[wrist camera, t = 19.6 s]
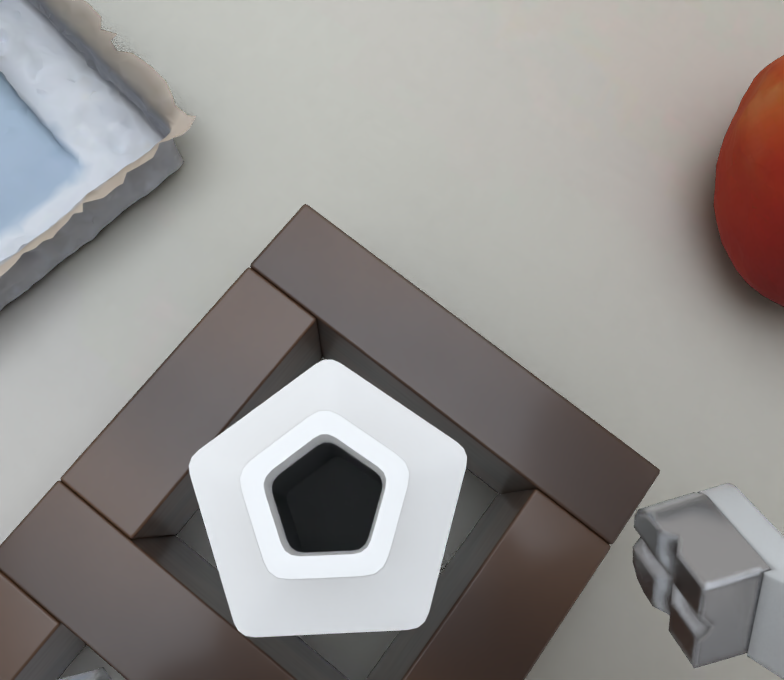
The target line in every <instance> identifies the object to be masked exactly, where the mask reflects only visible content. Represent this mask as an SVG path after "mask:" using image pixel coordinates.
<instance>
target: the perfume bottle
mask: <svg viewBox="0 0 784 680" xmlns="http://www.w3.org/2000/svg"><path fill="white" fill-rule="evenodd" d="M466 464H467V455H466V453H465V450H464V448H463V447H462V446H461V445H460V444H459V443H458V442H456V441H455V440H453V439H452V438H450V437H449V436H447V435H446V434H444V433H443V432H441V431H440V430H439V429H437V428H436V427H434V426H433V425H431V424H430V423H428V422H427V421H425V420H424V419H422V418H421V417H419V416H418V415H416V414H415V413H413V412H412V411H410V410H409V409H408V408H406V407H405V406H403V405H402V404H400V403H399V402H397V401H396V400H394V399H393V398H391V397H390V396H388V395H387V394H385V393H384V392H382V391H381V390H379V389H378V388H377V387H375V386H374V385H372V384H371V383H369V382H368V381H366V380H365V379H363V378H362V377H360V376H359V375H357V374H356V373H354V372H353V371H351V370H350V369H348V368H347V367H346V366H344V365H343V364H341V363H339V362H337V361H335V360H322V361H320V362H318V363H316V364H315V365H314V366H312V367H311V368H309V369H308V370H307V371H305V372H304V373H303V374H301V375H300V376H299V377H297V378H296V379H294V380H293V381H292V382H290V383H289V384H288V385H286V386H285V387H284V388H282V389H281V390H280V391H278V392H277V393H275V394H274V395H273V396H271V397H270V398H269V399H267V400H266V401H265V402H263V403H262V404H261V405H259V406H258V407H256V408H255V409H254V410H252V411H251V412H250V413H248V414H247V415H246V416H244V417H243V418H241V419H240V420H239V421H237V422H236V423H235V424H233V425H232V426H231V427H229V428H228V429H227V430H225V431H224V432H222V433H221V434H220V435H218V436H217V437H216V438H214V439H213V440H212V441H210V442H209V443H207V444H206V445H205V446H203V447H202V448H201V449H199V450H198V451H197V452H196V453H195V454H194V455H193V456H192V458H191V461H190V463H189V472H190V477H191V481H192V484H193V487H194V491H195V494H196V497H197V501H198V504H199V508H200V511H201V514H202V518H203V521H204V524H205V528H206V531H207V534H208V538H209V541H210V545H211V548H212V551H213V555H214V558H215V561H216V565H217V568H218V571H219V575H220V578H221V581H222V585H223V588H224V592H225V595H226V598H227V602H228V605H229V608H230V612H231V615H232V618H233V622H234V624H235V626H236V628H237V630H238V631H239V632H241V633H242V634H243V635H245V636H250V637H272V636H293V635H313V634H334V633H355V632H376V631H396V630H410V629H414V628H418V627H419V626H420V625H422V624H423V623H424V622H425V620H426V618H427V616H428V614H429V611H430V607H431V603H432V599H433V595H434V591H435V587H436V583H437V579H438V575H439V571H440V567H441V563H442V560H443V556H444V552H445V548H446V544H447V540H448V536H449V532H450V528H451V524H452V520H453V516H454V512H455V509H456V505H457V501H458V497H459V493H460V489H461V485H462V481H463V477H464V473H465V469H466Z"/></svg>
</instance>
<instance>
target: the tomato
mask: <svg viewBox="0 0 784 680" xmlns="http://www.w3.org/2000/svg"><path fill="white" fill-rule="evenodd" d="M714 210H715V216H716V221H717V226H718V230H719V234H720V238H721V242H722V244H723V246H724V248H725V250H726V252H727V254H728V256H729V258H730V259H731V261H732V263H733V265H734V267H735V269H736V270H737V272H738V273H739V274H740V275H741V276H742V278H743V279H744V280H745V281H746V282H747V283H748V284H749V285H750V286H751V287H752V288H754V289H755V290H756V291H757V292H759V293H760V294H761V295H763V296H764V297H766V298H768V299H770V300H771V301H773V302H775V303H777V304H779V305H781V306H783V307H784V55H783V56H781V57H780V58H778V59H776V60H775V61H773V62H772V63H771V64H769V65H768V66H767V67H765V68H764V69H763V70H762V71H761V72H759V74H758V75H757V76H756V77H755V78H754V79H753V81H752V83H751V85H750V86H749V88H748V90H747V92H746V93H745V95H744V96H743V98H742V100H741V102H740V105H739V107H738V110H737V112H736V114H735V116H734V117H733V119H732V121H731V124H730V126H729V128H728V130H727V132H726V135H725V137H724V140H723V143H722V146H721V149H720V153H719V157H718V161H717V165H716V179H715V193H714Z"/></svg>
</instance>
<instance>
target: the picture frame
mask: <svg viewBox="0 0 784 680" xmlns="http://www.w3.org/2000/svg"><path fill="white" fill-rule="evenodd" d="M116 35H117V34H116V33H112V32H109V31H105V30H102V29H101V16H100V15H99V14H98V13H97V12H96V11H95V9H94V8H93V7H92V6H91V5H90V4H89V3H87V2H86V1H84V0H0V310H2V308H3V307H4V306H5V305H6V304H8V303H9V302H11V301H13V300H14V299H16V298H17V297H19V296H20V295H21V294H22V293H23V292H25V291H27V290H29V288H30V287H31V286H32V285H33V284H34V283H36V282H37V281H39V280H41V279H42V278H43V277H44V276H45V275H46V274H47V273H48V272H49V271H51V270H52V269H53V268H54V267H55V266H56V265H57V264H59V263H60V262H62V261H63V260H64V259H65V258H66V257H67V256H69V255H71V254H73V253H74V252H75V251H77V250H78V249H79V248H80V247H81V246H83V245H84V244H85V243H87V242H89V241H91V240H93V239H94V238H95V236H96V235H97V234H98V233H99V232H100V231H101V229H102V228H103V227H105V226H106V225H108V224H109V223H110V222H112V221H113V220H114V219H115V218H116V217H117V216H118V215H119V214H120V213H121V212H122V211H123V210H125V209H126V208H128V207H129V206H131V205H132V204H134V203H135V202H136V201H137V200H139V199H140V198H142V197H144V196H146V195H148V194H149V193H150V192H151V191H153V190H154V189H155V188H156V187H157V186H159V185H160V184H161V183H162V182H163V181H164V180H165V179H166V178H167V177H168V176H169V175H171V174H172V173H174V172H176V171H177V170H178V169H179V168H180V167H181V165H182V164H183V162H184V161H183V158H182V156H181V155H180V153H179V151H178V149H177V147H176V145H175V142H174V140H173V138H175V137H178V136H181V135H183V134H184V133H185V132H186V131H187V130H189V129H190V127H191V125H192V123H193V121H194V119H195V118H196V116H190V115H187V114H186V113H185V112H183V111H182V110H181V109H180V108H179V107H177V106H176V105H175V102H174V98H173V95H172V93H171V91H170V89H169V86H168V84H167V82H166V80H165V79H164V78H163V77H162V76H161V75H160V74H159V73H158V72H157V71H156V70H155V69H154V68H153V67H152V66H150V65H149V64H147V63H146V62H145V61H143V60H142V59H140V58H139V57H138V56H136V55H135V54H133V53H130V52H123V51H117V49H116V48H115V46H114V45H113V43H112V41H111V40H112V39H113V38H114V37H115V36H116Z"/></svg>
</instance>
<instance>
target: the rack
mask: <svg viewBox="0 0 784 680" xmlns="http://www.w3.org/2000/svg"><path fill="white" fill-rule="evenodd" d="M250 267H251V268H247V269H246V270H245V271H244V272H243V273H242V274H241V276H240V277H239V278H238V279H237V280H236V281H235V282H234V283H233V285H232V286H231V287H230V288H229V289H228V290H227V291H226V292H225V294H224V295H223V296H222V297H221V298H220V299H219V300H218V301H217V303H216V304H215V305H214V306H213V307H212V308H211V309H210V310H209V312H208V313H207V314H206V315H205V316H204V317H203V318H202V319H201V321H200V322H199V323H198V324H197V325H196V326H195V327H194V328H193V330H192V331H191V332H190V333H189V334H188V335H187V336H186V337H185V339H184V340H183V341H182V342H181V343H180V344H179V345H178V346H177V348H176V349H175V350H174V351H173V352H172V353H171V354H170V355H169V357H168V358H167V359H166V360H165V361H164V362H163V363H162V364H161V366H160V367H159V368H158V369H157V370H156V371H155V372H154V373H153V375H152V376H151V377H150V378H149V379H148V380H147V381H146V382H145V384H144V385H143V386H142V387H141V388H140V389H139V390H138V391H137V393H136V394H135V395H134V396H133V397H132V398H131V399H130V400H129V402H128V403H127V404H126V405H125V406H124V407H123V408H122V409H121V411H120V412H119V413H118V414H117V415H116V416H115V417H114V418H113V420H112V421H111V422H110V423H109V424H108V425H107V426H106V427H105V429H104V430H103V431H102V432H101V433H100V434H99V435H98V436H97V437H96V439H95V440H94V441H93V442H92V443H91V444H90V445H89V446H88V448H87V449H86V450H85V451H84V452H83V453H82V454H81V455H80V457H79V458H78V459H77V460H76V461H75V462H74V463H73V464H72V466H71V467H70V468H69V469H68V470H67V471H66V472H65V473H64V475H63V476H62V477H61V481H57V482H56V483H55V484H54V486H53V487H52V488H51V489H50V490H49V491H48V492H47V493H46V495H45V496H44V497H43V498H42V499H41V500H40V501H39V502H38V504H37V505H36V506H35V507H34V508H33V509H32V510H31V511H30V512H29V514H28V515H27V516H26V517H25V518H24V519H23V520H22V521H21V523H20V524H19V525H18V526H17V527H16V528H15V529H14V530H13V532H12V533H11V534H10V535H9V536H8V537H7V538H6V539H5V541H4V542H3V543H2V544H1V545H0V680H57V679H58V678H59V677H60V675H61V674H62V673H63V672H64V671H65V669H66V668H67V667H68V666H69V665H70V663H71V662H72V661H73V660H74V658H75V657H76V656H77V655H78V654H79V652H80V651H81V650H82V649H83V648H84V646H85V645H87V646H88V647H90V648H91V649H92V650H93V651H94V652H95V653H97V654H98V655H99V656H100V657H101V658H102V659H103V660H105V661H106V662H107V663H108V664H109V665H110V666H112V667H113V668H114V669H115V670H116V671H117V672H118V673H120V674H121V675H122V676H123V677H124V678H125V679H127V680H349V679H348V678H346V677H345V676H344V675H343V674H342V673H340V672H339V671H338V670H337V669H336V668H334V667H333V666H332V665H331V664H330V663H328V662H327V661H326V660H325V659H324V658H322V657H321V656H320V655H319V654H318V653H316V652H315V651H314V650H313V649H312V648H310V647H309V646H308V645H307V644H306V643H304V642H303V641H302V640H301V639H300V638H298V637H297V636H296V635H293V636H272V637H250V636H245V635H243V634H242V633H241V632H239V631H238V630H237V628H236V626H235V624H234V622H233V618H232V615H231V612H230V608H229V605H228V602H227V598H226V595H225V592H224V588H223V585H222V581H221V578H220V575H219V571H218V570H217V569H215V568H214V567H213V566H212V565H211V564H209V563H208V562H207V561H206V560H205V559H203V558H202V557H201V556H200V555H199V554H197V553H196V552H195V551H194V550H193V549H191V548H190V547H189V546H188V545H187V544H185V543H184V542H183V541H182V540H181V539H179V538H178V537H177V536H176V534H178V532H179V531H180V530H181V529H182V528H183V526H184V525H185V524H186V523H187V522H188V520H189V519H190V518H191V517H192V515H193V514H194V513H195V512H196V511H197V509H198V508H199V504H198V501H197V497H196V494H195V491H194V487H193V484H192V481H191V477H190V472H189V463H190V461H191V458H192V456H193V455H194V454H195V453H196V452H197V451H198V450H199V449H201V448H202V447H203V446H205V445H206V444H207V443H209V442H210V441H212V440H213V439H214V438H216V437H217V436H218V435H220V434H221V433H222V432H224V431H225V430H227V429H228V428H229V427H231V426H232V425H233V424H235V423H236V422H237V421H239V420H240V419H241V418H243V417H244V416H246V415H247V414H248V413H250V412H251V411H252V410H254V409H255V408H256V407H258V406H259V405H261V404H262V403H263V402H265V401H266V400H267V399H269V398H270V397H271V396H273V395H274V394H275V393H277V392H278V391H280V390H281V389H282V388H284V387H285V386H286V385H288V384H289V383H290V382H292V381H293V380H294V379H296V378H297V377H299V376H300V375H301V374H303V373H304V372H305V371H307V370H308V369H309V368H311V367H312V366H314V365H315V364H316V363H318V362H320V360H321V359H322V356H323V357H324V358H326V359H327V360H335V361H337V362H339V363H341V364H343V365H344V366H346V367H347V368H348V369H350V370H351V371H353V372H354V373H356V374H357V375H359V376H360V377H362V378H363V379H365V380H366V381H368V382H369V383H371V384H372V385H374V386H375V387H377V388H378V389H379V390H381V391H382V392H384V393H385V394H387V395H388V396H390V397H391V398H393V399H394V400H396V401H397V402H399V403H400V404H402V405H403V406H405V407H406V408H408V409H409V410H410V411H412V412H413V413H415V414H416V415H418V416H419V417H421V418H422V419H424V420H425V421H427V422H428V423H430V424H431V425H433V426H434V427H436V428H437V429H439V430H440V431H441V432H443V433H444V434H446V435H447V436H449V437H450V438H452V439H453V440H455V441H456V442H458V443H459V444H460V445H461V446H462V447H463V448H464V450H465V453H466V455H467V464H466V468H467V469H468V470H470V471H471V472H472V473H473V474H475V475H476V476H477V477H479V478H480V479H481V480H482V481H484V482H485V483H486V484H488V485H489V486H490V487H491V488H493V489H494V490H495V491H497V492H498V493H499V495H497V496H496V498H495V499H494V500H493V502H492V503H491V505H490V506H489V507H488V509H487V510H486V512H485V513H484V514H483V516H482V517H481V519H480V520H479V521H478V523H477V524H476V526H475V527H474V528H473V530H472V531H471V533H470V534H469V535H468V537H467V538H466V540H465V541H464V543H463V544H462V545H461V547H460V548H459V550H458V551H457V552H456V554H455V555H454V557H453V558H452V559H451V561H450V562H449V564H448V565H447V566H446V568H445V569H444V571H443V572H442V573H441V575H440V576H439V578H438V579H437V583H436V587H435V591H434V595H433V599H432V603H431V607H430V611H429V614H428V616H427V618H426V620H425V622H424V623H423V624H422V625H420V626H419V627H418V628H414V629H410V630H401V631H400V632H399V634H398V635H397V636H396V638H395V639H394V641H393V642H392V643H391V645H390V646H389V648H388V649H387V651H386V652H385V653H384V655H383V656H382V658H381V659H380V660H379V662H378V663H377V665H376V666H375V667H374V669H373V670H372V672H371V673H370V674H369V676H368V677H367V679H366V680H524V679H525V678H526V676H527V675H528V673H529V672H530V670H531V669H532V667H533V666H534V664H535V663H536V661H537V659H538V658H539V656H540V655H541V653H542V652H543V650H544V649H545V647H546V646H547V644H548V643H549V641H550V640H551V638H552V637H553V635H554V634H555V632H556V630H557V629H558V627H559V626H560V624H561V623H562V621H563V620H564V618H565V617H566V615H567V614H568V612H569V611H570V609H571V608H572V606H573V605H574V603H575V601H576V600H577V598H578V597H579V595H580V594H581V592H582V591H583V589H584V588H585V586H586V585H587V583H588V582H589V580H590V579H591V577H592V576H593V574H594V572H595V571H596V569H597V568H598V566H599V565H600V563H601V562H602V560H603V559H604V557H605V556H606V554H607V553H608V551H609V550H610V545H609V544H613V543H614V542H615V540H616V539H617V537H618V536H619V534H620V533H621V531H622V530H623V528H624V527H625V525H626V523H627V522H628V520H629V519H630V517H631V516H632V514H633V513H634V511H635V510H636V508H637V507H638V505H639V504H640V502H641V501H642V499H643V498H644V496H645V494H646V493H647V491H648V490H649V488H650V487H651V485H652V484H653V482H654V481H655V479H656V478H657V476H658V475H659V472H660V470H659V469H658V468H657V467H656V466H654V465H653V464H652V463H650V462H649V461H648V460H646V459H645V458H644V457H642V456H641V455H640V454H638V453H637V452H636V451H634V450H633V449H632V448H630V447H629V446H628V445H626V444H625V443H624V442H622V441H621V440H620V439H618V438H617V437H616V436H614V435H613V434H612V433H610V432H609V431H608V430H606V429H605V428H604V427H602V426H601V425H600V424H598V423H597V422H596V421H594V420H593V419H592V418H590V417H589V416H588V415H586V414H585V413H584V412H582V411H581V410H580V409H578V408H577V407H576V406H574V405H573V404H572V403H570V402H569V401H568V400H566V399H565V398H564V397H562V396H561V395H560V394H558V393H557V392H556V391H554V390H553V389H552V388H550V387H549V386H548V385H546V384H545V383H544V382H542V381H541V380H540V379H538V378H537V377H536V376H535V375H533V374H532V373H531V372H529V371H528V370H527V369H525V368H524V367H523V366H521V365H520V364H519V363H517V362H516V361H515V360H513V359H512V358H511V357H509V356H508V355H507V354H505V353H504V352H503V351H501V350H500V349H499V348H497V347H496V346H495V345H493V344H492V343H491V342H489V341H488V340H487V339H485V338H484V337H483V336H481V335H480V334H479V333H477V332H476V331H475V330H473V329H472V328H471V327H469V326H468V325H467V324H465V323H464V322H463V321H461V320H460V319H459V318H457V317H456V316H455V315H453V314H452V313H451V312H449V311H448V310H447V309H445V308H444V307H443V306H441V305H440V304H439V303H437V302H436V301H435V300H433V299H432V298H431V297H429V296H428V295H427V294H425V293H424V292H423V291H421V290H420V289H419V288H417V287H416V286H415V285H413V284H412V283H411V282H410V281H408V280H407V279H406V278H404V277H403V276H402V275H400V274H399V273H398V272H396V271H395V270H394V269H392V268H391V267H390V266H388V265H387V264H386V263H384V262H383V261H382V260H380V259H379V258H378V257H376V256H375V255H374V254H372V253H371V252H370V251H368V250H367V249H366V248H364V247H363V246H362V245H360V244H359V243H358V242H356V241H355V240H354V239H352V238H351V237H350V236H348V235H347V234H346V233H344V232H343V231H342V230H340V229H339V228H338V227H336V226H335V225H334V224H332V223H331V222H330V221H328V220H327V219H326V218H324V217H323V216H322V215H320V214H319V213H318V212H316V211H315V210H314V209H312V208H311V207H310V206H308V205H306V204H305V205H303V206H302V207H301V208H300V209H299V211H298V212H297V213H296V214H295V215H294V216H293V217H292V218H291V220H290V221H289V222H288V223H287V224H286V225H285V226H284V227H283V229H282V230H281V231H280V232H279V233H278V234H277V235H276V236H275V238H274V239H273V240H272V241H271V242H270V243H269V244H268V245H267V247H266V248H265V249H264V250H263V251H262V252H261V253H260V254H259V256H258V257H257V258H256V259H255V260H254V261H253V262H252V263H251V266H250Z"/></svg>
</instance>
